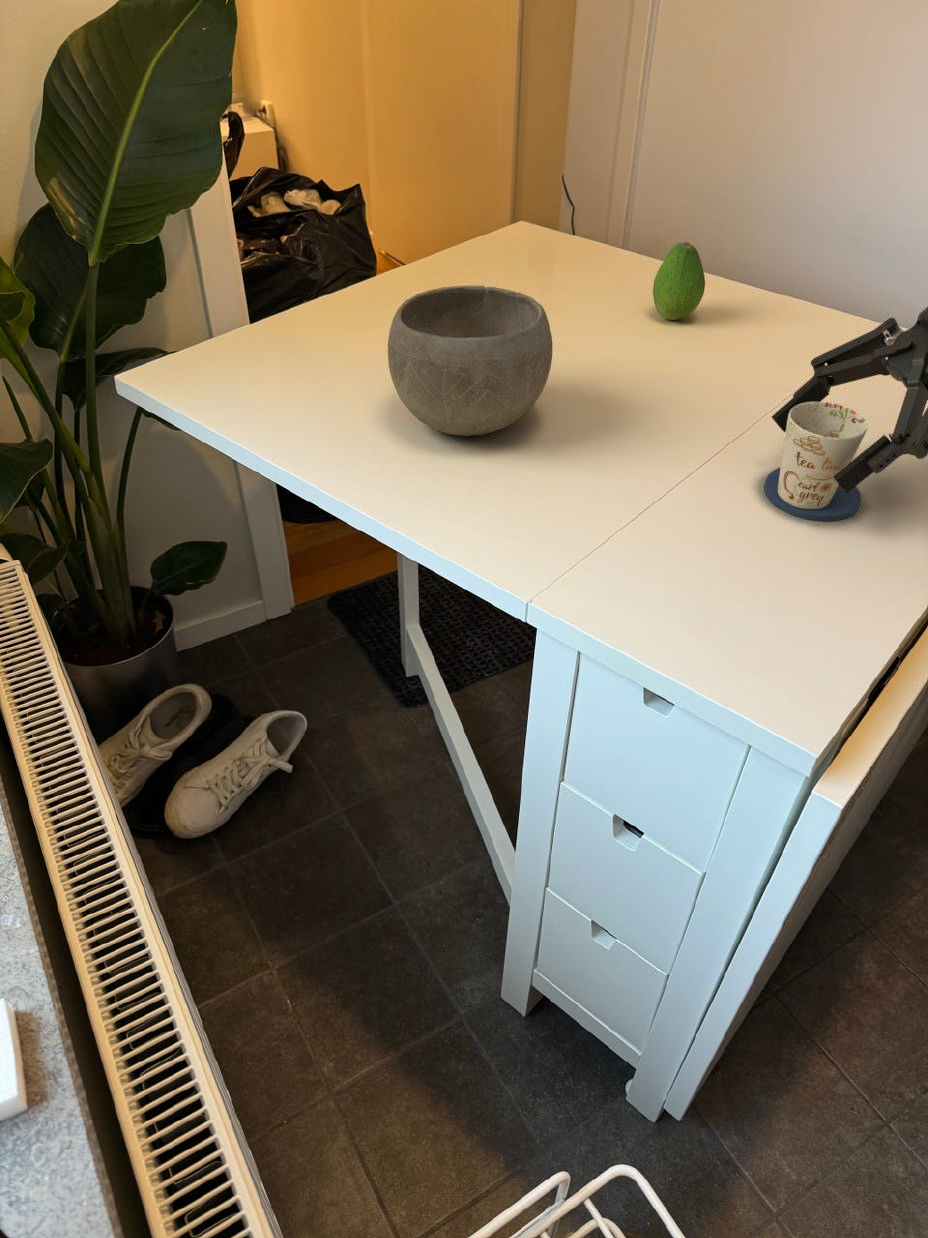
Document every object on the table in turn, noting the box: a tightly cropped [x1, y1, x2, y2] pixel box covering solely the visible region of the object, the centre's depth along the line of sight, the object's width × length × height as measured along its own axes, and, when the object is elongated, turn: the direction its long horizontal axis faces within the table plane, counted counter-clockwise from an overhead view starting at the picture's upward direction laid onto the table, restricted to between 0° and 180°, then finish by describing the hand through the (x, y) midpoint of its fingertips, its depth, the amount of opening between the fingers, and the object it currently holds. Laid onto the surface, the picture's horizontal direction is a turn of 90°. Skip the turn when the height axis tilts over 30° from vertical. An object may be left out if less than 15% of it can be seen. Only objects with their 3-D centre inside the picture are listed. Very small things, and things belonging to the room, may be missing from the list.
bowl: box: [387, 285, 553, 437], centre depth 114 cm, size 21×21×15 cm
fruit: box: [652, 241, 706, 321], centre depth 141 cm, size 8×8×12 cm
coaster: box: [763, 466, 862, 522], centre depth 106 cm, size 11×11×1 cm
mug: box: [778, 401, 868, 509], centre depth 103 cm, size 8×13×10 cm, turn 133°
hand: (807, 453), depth 102 cm, fingers open, 13 cm apart
